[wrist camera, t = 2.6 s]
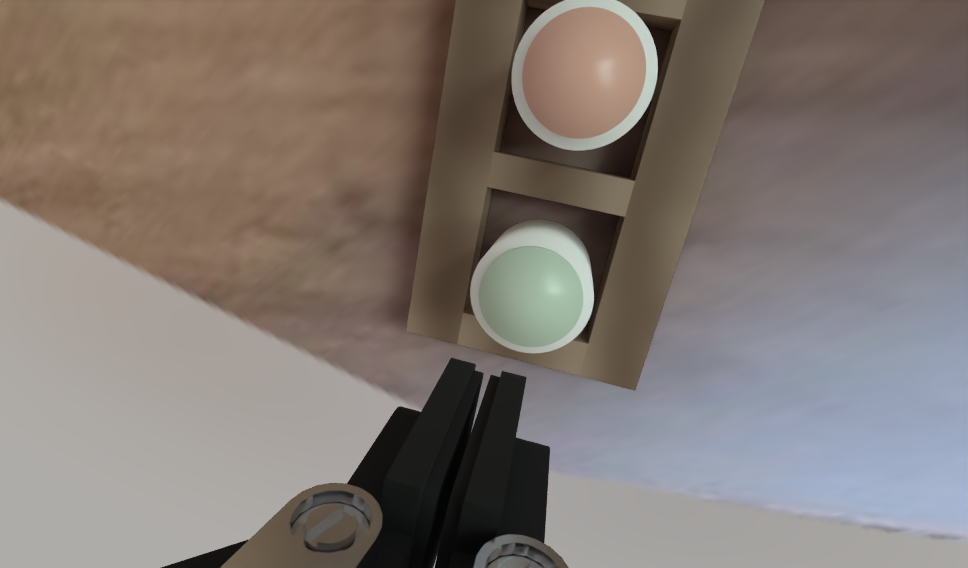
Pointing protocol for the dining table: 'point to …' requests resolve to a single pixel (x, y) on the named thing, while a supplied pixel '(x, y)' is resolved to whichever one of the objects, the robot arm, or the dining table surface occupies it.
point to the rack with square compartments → (576, 177)
